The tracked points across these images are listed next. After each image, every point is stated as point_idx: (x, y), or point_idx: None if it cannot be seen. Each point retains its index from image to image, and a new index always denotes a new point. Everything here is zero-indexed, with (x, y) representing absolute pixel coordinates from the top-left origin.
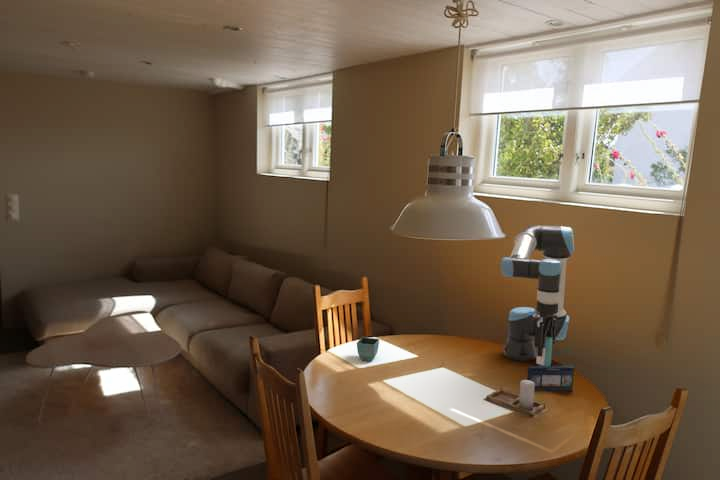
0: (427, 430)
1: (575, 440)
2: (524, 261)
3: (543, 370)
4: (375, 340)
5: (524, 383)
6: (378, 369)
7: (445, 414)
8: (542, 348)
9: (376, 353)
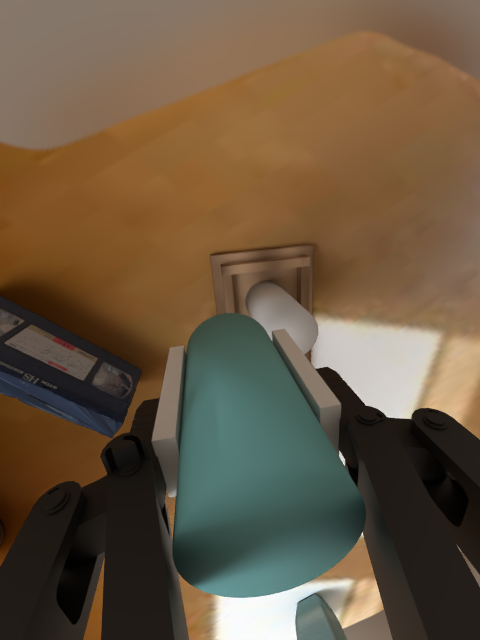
0: None
1: (325, 74)
2: None
3: (71, 392)
4: None
5: (307, 337)
6: (334, 567)
7: (418, 389)
8: (342, 413)
9: (298, 614)
